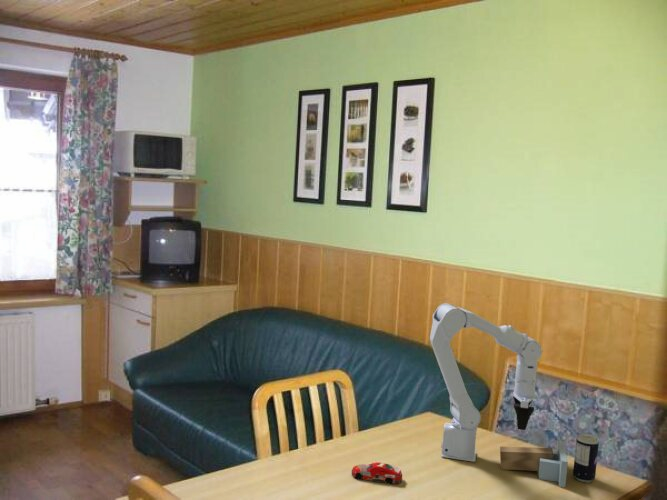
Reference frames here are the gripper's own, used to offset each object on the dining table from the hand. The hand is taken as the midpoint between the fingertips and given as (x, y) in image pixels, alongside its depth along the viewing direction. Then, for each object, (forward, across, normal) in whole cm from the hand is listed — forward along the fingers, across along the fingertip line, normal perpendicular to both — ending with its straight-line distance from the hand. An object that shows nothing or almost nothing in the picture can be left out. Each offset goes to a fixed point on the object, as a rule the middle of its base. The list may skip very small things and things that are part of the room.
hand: (521, 425), depth 203 cm
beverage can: (+10, -10, -17) cm, 22 cm away
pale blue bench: (+9, -10, -8) cm, 16 cm away
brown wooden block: (+9, -10, -2) cm, 13 cm away
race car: (+10, -31, +36) cm, 49 cm away
